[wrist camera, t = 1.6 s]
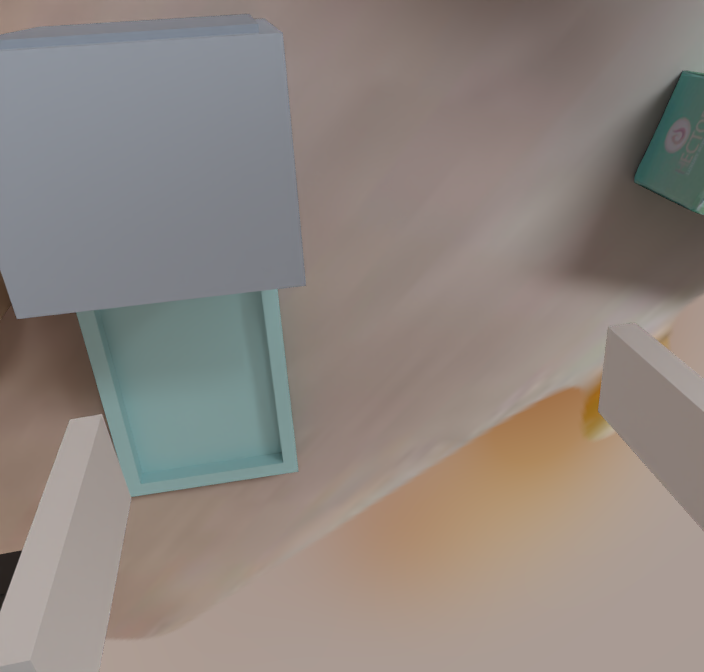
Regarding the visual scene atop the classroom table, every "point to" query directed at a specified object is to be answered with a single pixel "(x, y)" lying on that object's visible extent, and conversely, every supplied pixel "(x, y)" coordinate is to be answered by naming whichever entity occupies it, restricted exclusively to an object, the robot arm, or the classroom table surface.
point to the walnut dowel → (3, 297)
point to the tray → (194, 389)
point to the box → (678, 147)
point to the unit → (145, 164)
